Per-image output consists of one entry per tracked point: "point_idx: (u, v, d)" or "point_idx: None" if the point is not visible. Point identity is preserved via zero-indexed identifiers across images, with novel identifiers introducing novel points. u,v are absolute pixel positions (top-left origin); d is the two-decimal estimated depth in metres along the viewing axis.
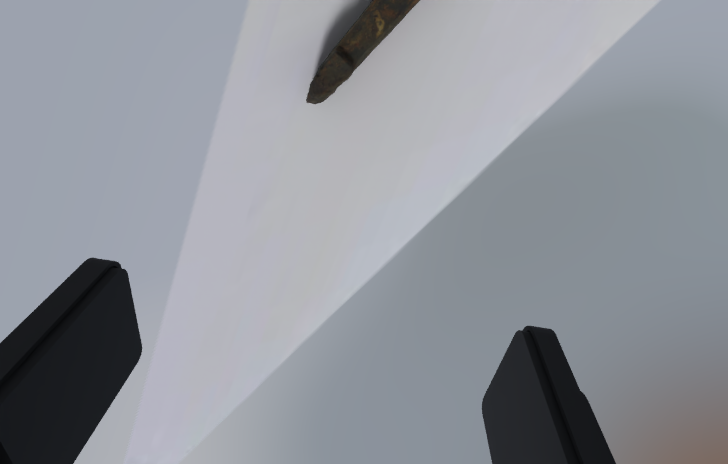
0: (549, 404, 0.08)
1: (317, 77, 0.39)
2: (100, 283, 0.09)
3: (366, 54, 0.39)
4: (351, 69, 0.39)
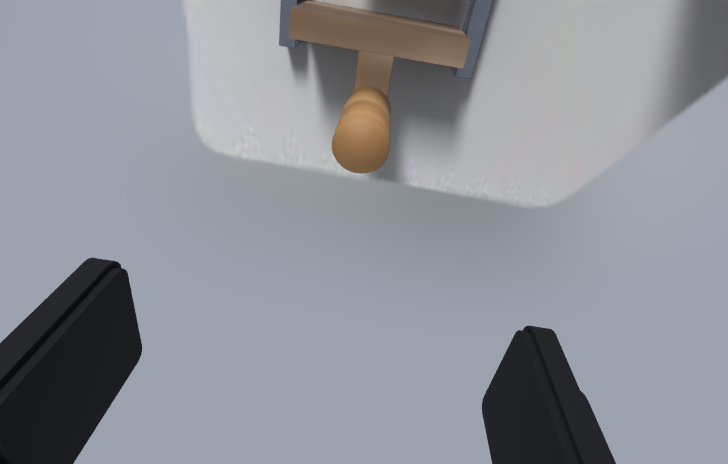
0: (549, 404, 0.08)
1: None
2: (100, 283, 0.09)
3: None
4: None
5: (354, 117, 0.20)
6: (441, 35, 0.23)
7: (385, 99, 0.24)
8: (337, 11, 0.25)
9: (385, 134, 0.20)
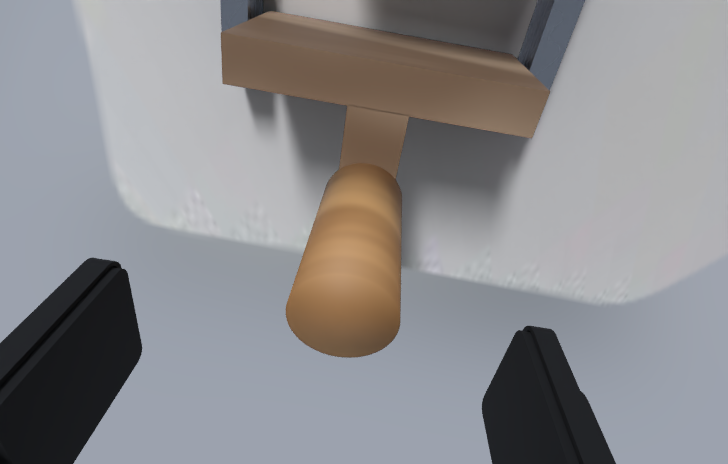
0: (549, 404, 0.08)
1: None
2: (100, 283, 0.09)
3: None
4: None
5: (330, 267, 0.10)
6: (496, 81, 0.13)
7: (393, 189, 0.14)
8: (312, 33, 0.14)
9: (392, 301, 0.10)
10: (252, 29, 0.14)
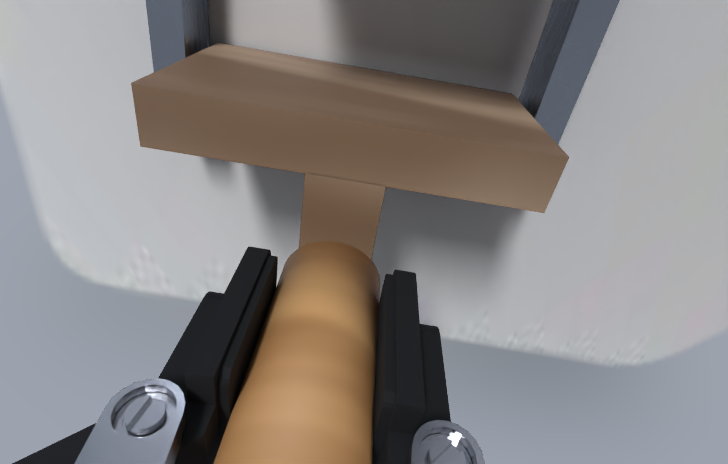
0: (387, 329, 0.09)
1: None
2: (265, 268, 0.10)
3: None
4: None
5: (263, 449, 0.07)
6: (498, 145, 0.10)
7: (367, 277, 0.11)
8: (262, 77, 0.11)
9: None
10: (180, 75, 0.10)
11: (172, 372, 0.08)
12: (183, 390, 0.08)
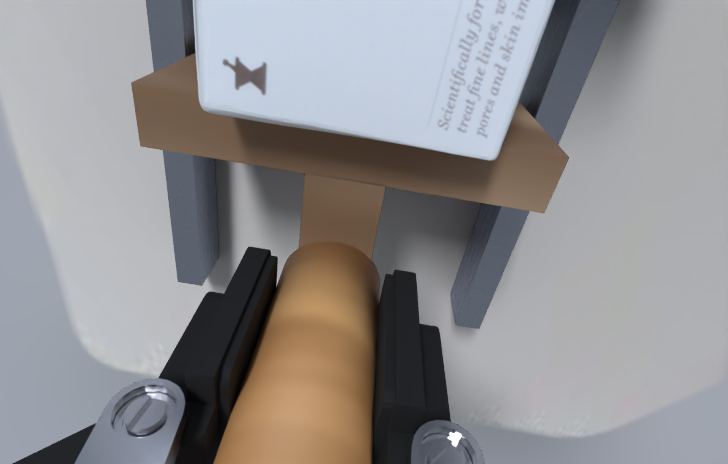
0: (387, 329, 0.09)
1: None
2: (265, 268, 0.10)
3: None
4: None
5: (263, 449, 0.07)
6: None
7: (367, 277, 0.11)
8: None
9: None
10: (180, 74, 0.10)
11: (172, 372, 0.08)
12: (183, 390, 0.08)
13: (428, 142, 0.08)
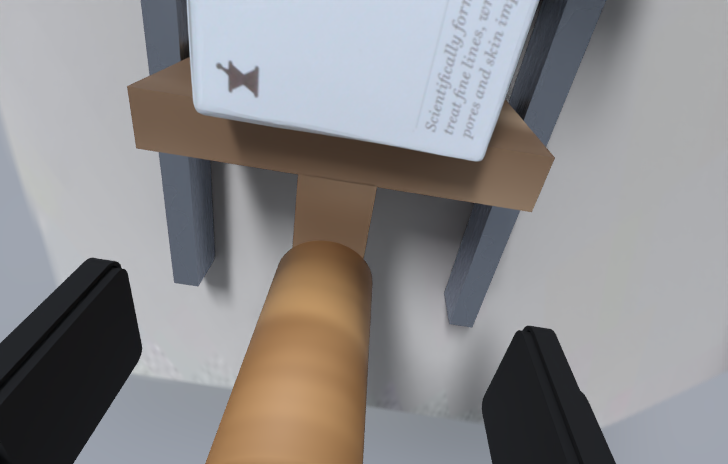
0: (549, 404, 0.08)
1: None
2: (100, 283, 0.09)
3: None
4: None
5: (256, 441, 0.07)
6: None
7: (359, 275, 0.11)
8: None
9: None
10: (175, 78, 0.11)
11: None
12: None
13: (416, 143, 0.08)
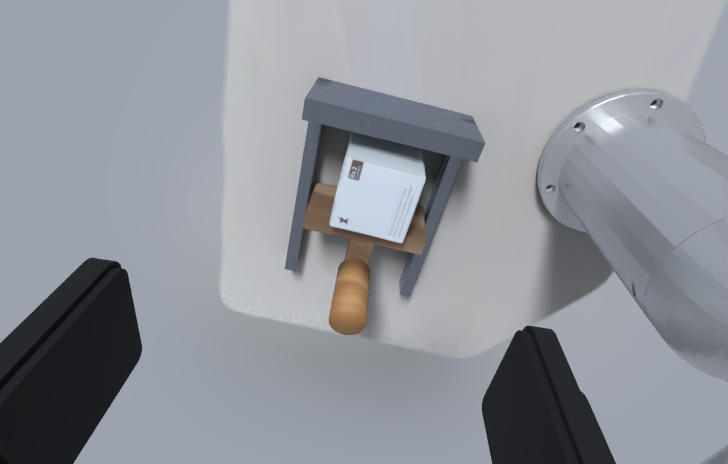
0: (549, 404, 0.08)
1: None
2: (100, 283, 0.09)
3: None
4: None
5: (345, 305, 0.31)
6: (407, 235, 0.34)
7: (366, 271, 0.35)
8: None
9: (364, 316, 0.31)
10: (315, 206, 0.35)
11: None
12: None
13: (385, 238, 0.32)
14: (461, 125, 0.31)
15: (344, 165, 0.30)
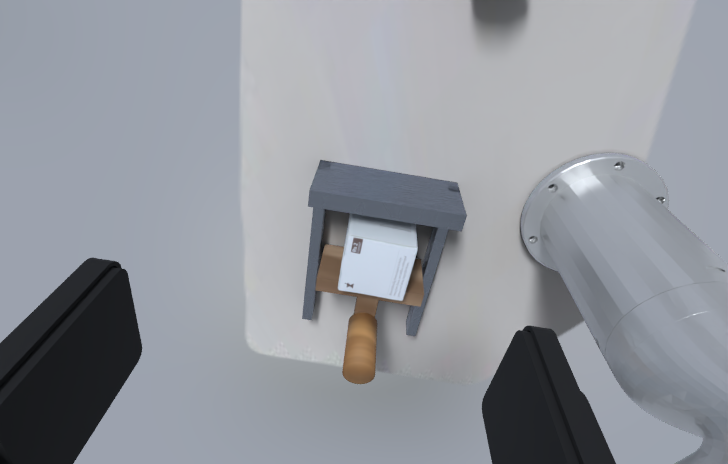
0: (549, 404, 0.08)
1: None
2: (100, 283, 0.09)
3: None
4: None
5: (355, 360, 0.36)
6: (406, 291, 0.39)
7: (373, 323, 0.40)
8: None
9: (372, 368, 0.36)
10: (324, 270, 0.40)
11: None
12: None
13: (387, 297, 0.37)
14: (446, 196, 0.36)
15: (346, 242, 0.34)
